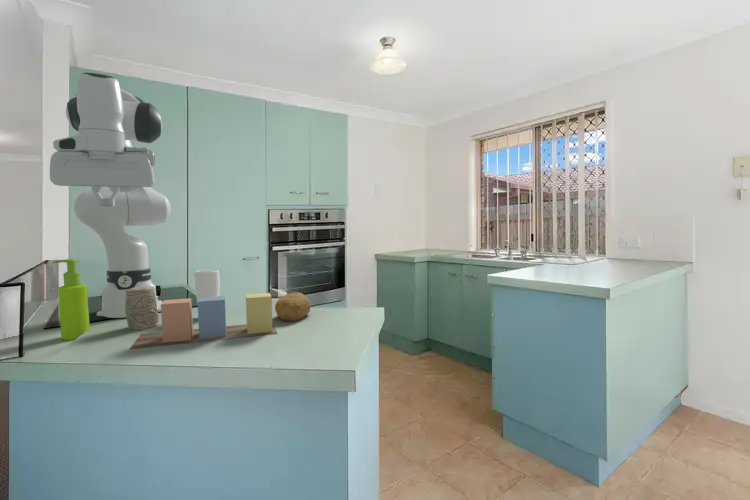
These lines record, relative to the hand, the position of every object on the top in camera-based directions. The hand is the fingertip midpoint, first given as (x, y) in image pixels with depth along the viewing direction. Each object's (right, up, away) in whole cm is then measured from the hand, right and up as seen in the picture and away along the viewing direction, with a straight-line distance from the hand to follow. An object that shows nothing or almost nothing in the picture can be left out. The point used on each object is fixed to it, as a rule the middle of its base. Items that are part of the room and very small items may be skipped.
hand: (107, 206), depth 93 cm
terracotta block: (+15, -31, +3) cm, 35 cm away
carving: (+1, -32, +13) cm, 35 cm away
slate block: (+23, -31, +5) cm, 39 cm away
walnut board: (+21, -33, +6) cm, 39 cm away
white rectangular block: (+14, -31, +24) cm, 42 cm away
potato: (+39, -31, +23) cm, 55 cm away
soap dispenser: (-15, -33, +10) cm, 37 cm away
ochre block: (+33, -31, +9) cm, 46 cm away
